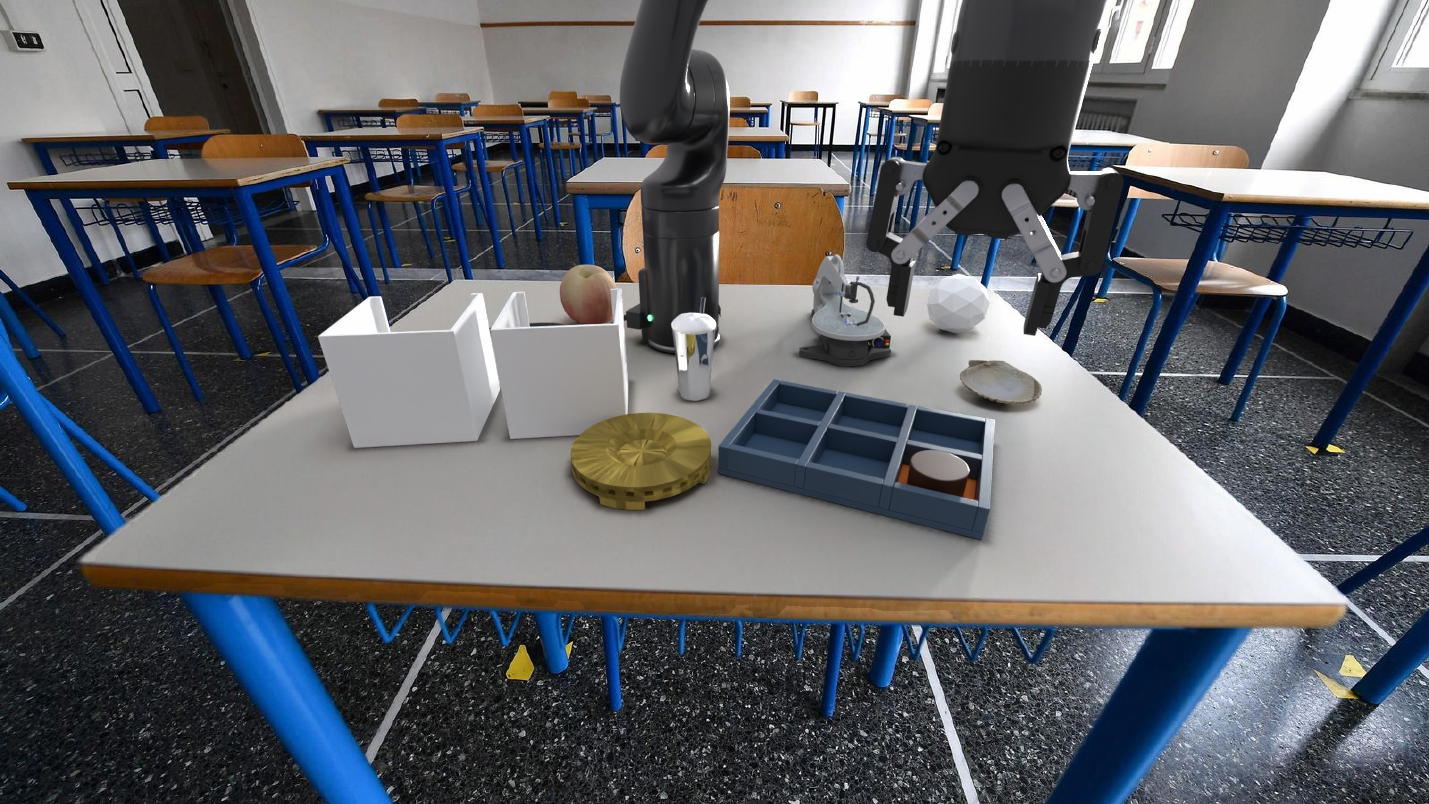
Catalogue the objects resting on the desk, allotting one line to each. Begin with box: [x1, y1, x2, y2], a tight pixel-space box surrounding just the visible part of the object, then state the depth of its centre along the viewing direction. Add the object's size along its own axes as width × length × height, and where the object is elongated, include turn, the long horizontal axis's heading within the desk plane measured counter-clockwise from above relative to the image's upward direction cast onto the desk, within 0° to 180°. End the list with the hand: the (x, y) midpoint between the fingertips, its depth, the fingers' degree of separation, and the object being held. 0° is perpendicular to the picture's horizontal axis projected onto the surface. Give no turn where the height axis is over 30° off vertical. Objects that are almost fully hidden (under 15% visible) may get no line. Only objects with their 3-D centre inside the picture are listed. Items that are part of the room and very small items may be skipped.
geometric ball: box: [926, 273, 991, 335], centre depth 81 cm, size 8×8×8 cm
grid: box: [717, 379, 996, 541], centre depth 53 cm, size 21×14×3 cm
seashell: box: [959, 359, 1043, 405], centre depth 64 cm, size 8×3×8 cm
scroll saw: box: [798, 254, 892, 367], centre depth 77 cm, size 20×11×12 cm
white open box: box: [317, 288, 629, 449], centre depth 59 cm, size 25×11×11 cm, turn 97°
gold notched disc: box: [570, 412, 712, 511], centre depth 52 cm, size 12×12×2 cm
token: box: [906, 450, 969, 497], centre depth 48 cm, size 4×4×2 cm
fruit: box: [559, 264, 618, 325], centre depth 83 cm, size 8×8×8 cm
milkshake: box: [671, 297, 716, 402], centre depth 63 cm, size 4×5×10 cm
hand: (961, 322), depth 42 cm, fingers open, 8 cm apart
